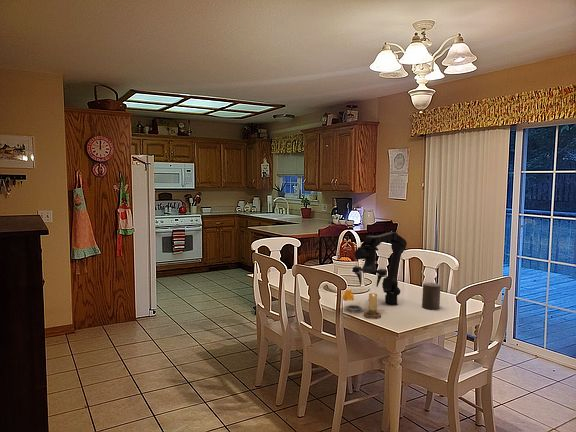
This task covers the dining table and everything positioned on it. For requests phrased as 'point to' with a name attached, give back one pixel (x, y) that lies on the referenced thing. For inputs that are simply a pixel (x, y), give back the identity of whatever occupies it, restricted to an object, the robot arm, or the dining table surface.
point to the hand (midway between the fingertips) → (368, 285)
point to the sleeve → (372, 304)
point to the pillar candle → (431, 296)
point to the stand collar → (372, 315)
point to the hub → (359, 309)
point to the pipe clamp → (348, 295)
